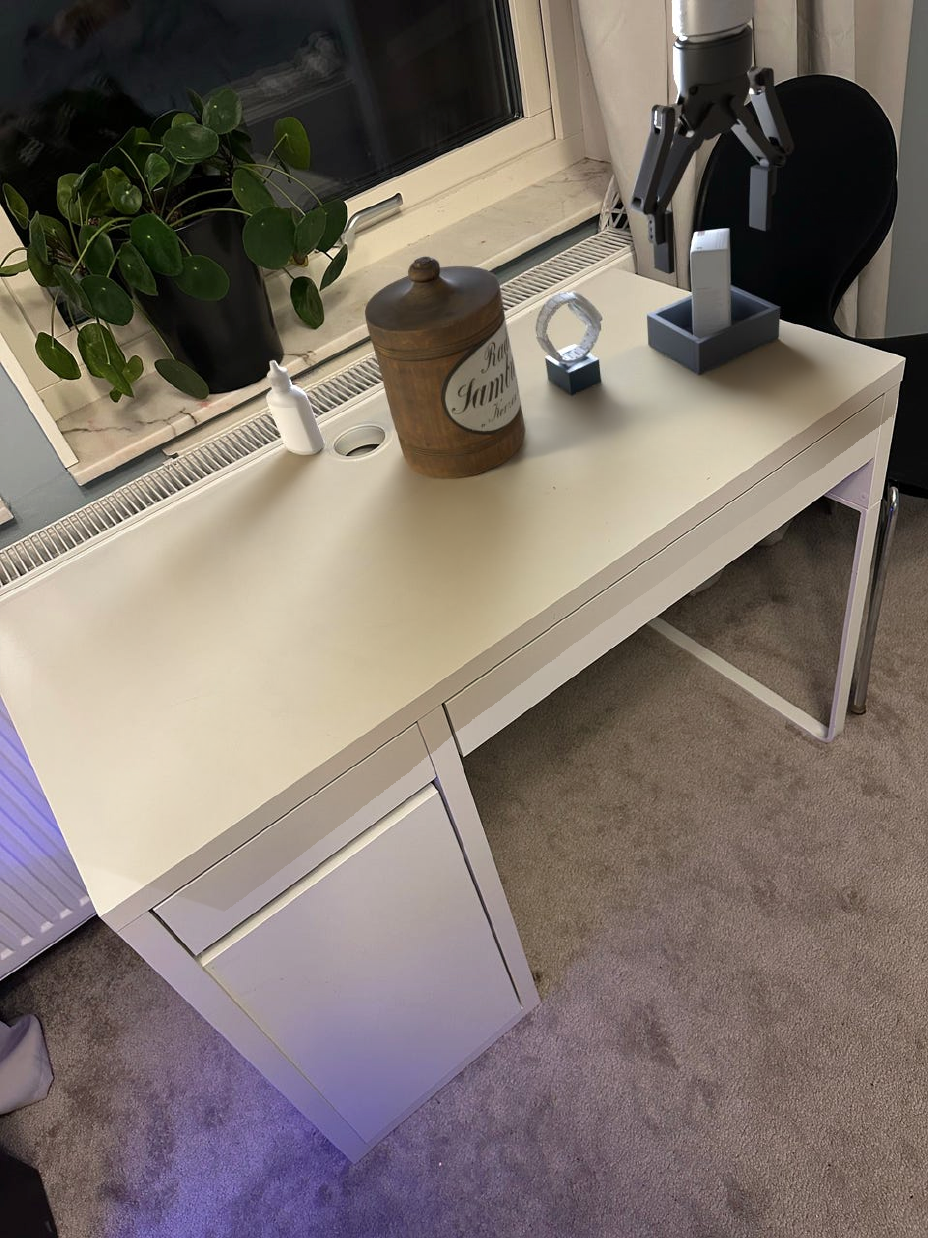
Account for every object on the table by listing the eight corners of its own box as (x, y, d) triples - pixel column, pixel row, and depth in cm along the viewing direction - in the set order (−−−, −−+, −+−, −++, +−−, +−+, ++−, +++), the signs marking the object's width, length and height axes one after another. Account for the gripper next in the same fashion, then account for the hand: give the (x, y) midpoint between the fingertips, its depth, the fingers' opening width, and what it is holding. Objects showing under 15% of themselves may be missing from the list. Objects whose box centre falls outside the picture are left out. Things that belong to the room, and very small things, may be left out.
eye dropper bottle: (297, 463, 105) (262, 377, 96) (283, 445, 109) (248, 360, 100) (329, 449, 106) (296, 362, 97) (313, 431, 109) (281, 346, 101)
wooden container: (500, 484, 93) (460, 291, 78) (384, 475, 99) (325, 294, 84) (542, 409, 102) (514, 224, 87) (433, 405, 108) (388, 231, 93)
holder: (778, 339, 102) (780, 307, 100) (699, 375, 100) (698, 343, 98) (723, 311, 110) (723, 280, 107) (648, 344, 108) (646, 314, 105)
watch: (614, 375, 104) (607, 289, 97) (559, 401, 103) (547, 315, 95) (589, 360, 108) (580, 276, 101) (535, 384, 106) (522, 301, 99)
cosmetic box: (729, 348, 102) (731, 248, 94) (691, 351, 103) (689, 252, 95) (731, 324, 106) (733, 225, 98) (694, 326, 108) (693, 230, 99)
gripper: (785, -9, 88) (775, 204, 102) (584, 66, 82) (603, 279, 97) (840, -7, 82) (821, 217, 97) (630, 73, 77) (643, 297, 92)
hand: (712, 248), depth 97 cm, fingers open, 13 cm apart
